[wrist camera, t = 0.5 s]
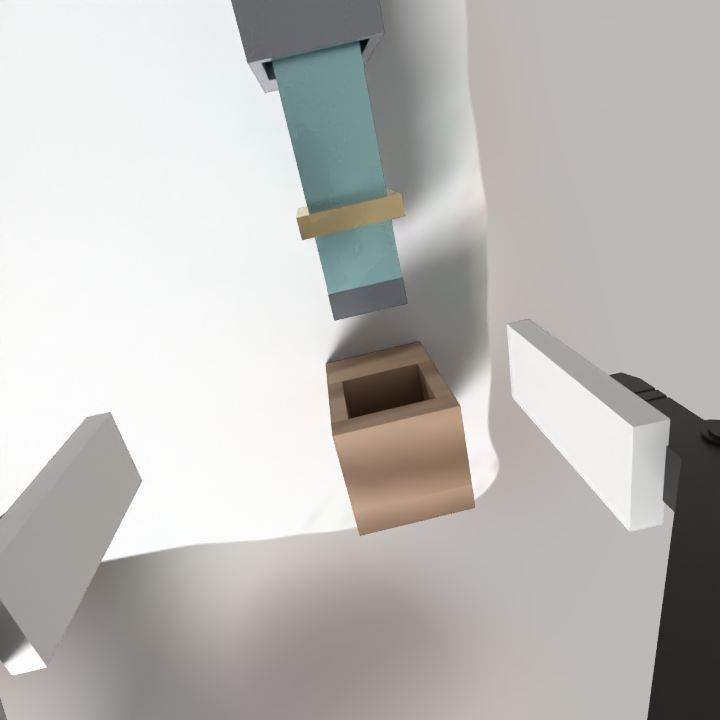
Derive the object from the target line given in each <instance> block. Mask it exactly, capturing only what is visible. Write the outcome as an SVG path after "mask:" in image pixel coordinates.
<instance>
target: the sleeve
mask: <svg viewBox="0 0 720 720" xmlns="http://www.w3.org/2000/svg"><path fill="white" fill-rule="evenodd" d="M231 2H232V5H233V9H234V13H235V17H236V21H237V24H238V28H239V32H240V36H241V40H242V44H243V47H244V51H245V55H246V59H247V63H248V65H249V66H250V68H251V70H252V71H253V73H254V75H255V77H256V78H257V80H258V82H259V83H260V85H261V87H262V88H263V90H264V92H265V93H266V92H271V91H275V90H279V89H278V85H277V81H276V76H275V72H274V68H273V64H272V60H276V59H281V58H285V57H289V56H294V55H298V54H303V53H307V52H311V51H316V50H320V49H324V48H329V47H333V46H338V45H342V44H346V43H351V42H355V41H359V44H360V49H361V55H362V60H363V66H365V64H366V62H367V61H368V59H369V57H370V55H371V54H372V52H373V50H374V49H375V47H376V45H377V44H378V42H379V40H380V39H381V37H382V35H383V34H384V27H383V21H382V14H381V8H380V2H379V0H231Z"/></svg>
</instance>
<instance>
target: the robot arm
mask: <svg viewBox="0 0 720 720" xmlns="http://www.w3.org/2000/svg"><path fill="white" fill-rule="evenodd" d="M507 335H508V348H509V359H510V373H511V386H512V397H513V399H514V400H515V401H516V402H517V403H518V404H519V405H520V407H521V408H522V409H523V410H524V411H525V412H526V413H527V415H528V416H529V417H530V418H531V419H532V420H533V421H534V423H535V424H536V425H537V426H538V427H539V428H540V429H541V431H542V432H543V433H544V434H545V435H546V436H547V438H548V439H549V440H550V441H551V442H552V443H553V444H554V446H555V447H556V448H557V449H558V450H559V451H560V452H561V454H562V455H563V456H564V457H565V458H566V459H567V460H568V462H569V463H570V464H571V465H572V466H573V467H574V469H575V470H576V471H577V472H578V473H579V474H580V475H581V477H582V478H583V479H584V480H585V481H586V482H587V483H588V485H589V486H590V487H591V488H592V489H593V490H594V492H595V493H596V494H597V495H598V496H599V497H600V498H601V500H602V501H603V502H604V503H605V504H606V505H607V506H608V508H609V509H610V510H611V511H612V512H613V513H614V514H615V516H616V517H617V518H618V519H619V520H620V521H621V522H622V523H623V525H624V526H625V527H626V528H627V529H628V530H629V532H630V531H635V530H640V529H644V528H648V527H652V526H657V525H661V524H663V514H664V502H665V503H666V504H667V505H668V506H669V507H670V508H671V509H672V510H673V511H674V512H675V514H674V521H673V528H672V536H671V543H670V551H669V559H668V567H667V574H666V582H665V589H664V597H663V604H662V612H661V620H660V627H659V635H658V642H657V650H656V658H655V665H654V673H653V680H652V688H651V695H650V703H649V711H648V718H647V720H720V420H703V419H701V418H700V417H698V416H697V415H695V414H694V413H692V412H691V411H689V410H688V409H686V408H685V407H683V406H682V405H680V404H678V403H677V402H675V401H674V400H672V399H671V398H667V397H666V395H665V394H663V393H662V392H660V391H659V390H655V388H654V387H652V386H651V385H649V384H648V383H646V382H645V381H643V380H642V379H640V378H637V377H633V376H630V375H627V374H624V373H617V374H612V375H608V374H606V373H605V372H603V371H602V370H600V369H599V368H598V367H596V366H595V365H594V364H592V363H591V362H589V361H588V360H586V359H585V358H583V357H582V356H581V355H580V354H578V353H577V352H575V351H574V350H572V349H571V348H570V347H568V346H567V345H565V344H564V343H563V342H561V341H560V340H558V339H557V338H556V337H554V336H553V335H551V334H550V333H549V332H547V331H546V330H544V329H543V328H541V327H540V326H539V325H537V324H536V323H534V322H533V321H532V320H530V319H526V320H522V321H518V322H513V323H509V324H507ZM141 482H142V480H141V477H140V475H139V473H138V471H137V469H136V467H135V464H134V462H133V460H132V458H131V456H130V454H129V451H128V449H127V447H126V445H125V443H124V441H123V438H122V436H121V434H120V432H119V430H118V428H117V425H116V423H115V421H114V419H113V417H112V415H111V412H108V413H104V414H100V415H95V416H91V417H87V418H86V419H85V420H84V421H83V422H82V424H81V425H80V426H79V427H78V428H77V429H76V431H75V432H74V433H73V434H72V435H71V436H70V438H69V439H68V440H67V441H66V442H65V444H64V445H63V446H62V447H61V448H60V449H59V451H58V452H57V453H56V454H55V455H54V456H53V458H52V459H51V460H50V461H49V462H48V464H47V465H46V466H45V467H44V468H43V469H42V471H41V472H40V473H39V474H38V475H37V476H36V478H35V479H34V480H33V481H32V482H31V484H30V485H29V486H28V487H27V488H26V489H25V491H24V492H23V493H22V494H21V495H20V496H19V498H18V499H17V500H16V501H15V502H14V504H13V505H12V506H11V507H10V508H9V509H8V511H7V512H6V513H5V514H3V515H2V516H1V517H0V660H1V661H2V662H3V664H4V665H5V666H6V668H7V669H8V670H9V672H10V673H11V675H16V674H20V673H25V672H29V671H33V670H38V669H42V668H46V667H47V666H48V664H49V662H50V660H51V658H52V657H53V655H54V653H55V651H56V649H57V647H58V645H59V643H60V641H61V639H62V637H63V635H64V633H65V631H66V629H67V627H68V625H69V623H70V621H71V619H72V617H73V615H74V613H75V611H76V609H77V608H78V606H79V604H80V602H81V600H82V598H83V596H84V594H85V592H86V590H87V588H88V586H89V584H90V582H91V580H92V578H93V576H94V574H95V572H96V570H97V568H98V566H99V564H100V562H101V560H102V558H103V556H104V555H105V553H106V551H107V549H108V547H109V545H110V543H111V541H112V539H113V537H114V535H115V533H116V531H117V529H118V527H119V525H120V523H121V521H122V519H123V517H124V515H125V513H126V511H127V509H128V507H129V505H130V504H131V502H132V500H133V498H134V496H135V494H136V492H137V490H138V488H139V486H140V484H141ZM0 720H7V719H6V715H5V712H4V709H3V706H2V703H1V700H0Z"/></svg>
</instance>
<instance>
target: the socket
mask: <svg viewBox="0 0 720 720" xmlns="http://www.w3.org/2000/svg"><path fill="white" fill-rule="evenodd" d="M326 373H327V384H328V394H329V405H330V415H331V426H332V436H333V440H334V444H335V447H336V451H337V454H338V458H339V462H340V465H341V469H342V473H343V476H344V480H345V483H346V487H347V491H348V494H349V498H350V502H351V505H352V509H353V513H354V516H355V520H356V523H357V527H358V531H359V534H360V536H361V535H365V534H369V533H373V532H378V531H382V530H386V529H390V528H394V527H398V526H402V525H406V524H411V523H415V522H419V521H423V520H427V519H431V518H435V517H439V516H443V515H447V514H452V513H455V512H459V511H464V510H468V509H472V508H475V503H474V495H473V489H472V482H471V475H470V468H469V462H468V455H467V448H466V441H465V435H464V428H463V421H462V414H461V408H460V405H459V403H458V401H457V400H456V398H455V397H454V395H453V393H452V392H451V390H450V389H449V387H448V386H447V384H446V382H445V381H444V379H443V378H442V376H441V375H440V373H439V371H438V370H437V368H436V367H435V365H434V363H433V362H432V360H431V359H430V357H429V356H428V354H427V352H426V351H425V349H424V348H423V346H422V345H421V343H420V342H415V343H411V344H407V345H403V346H398V347H394V348H390V349H386V350H382V351H377V352H373V353H369V354H365V355H361V356H356V357H352V358H348V359H344V360H340V361H335V362H331V363H327V364H326Z"/></svg>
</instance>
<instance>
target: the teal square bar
mask: <svg viewBox="0 0 720 720" xmlns="http://www.w3.org/2000/svg"><path fill="white" fill-rule="evenodd" d="M272 64H273V68H274V72H275V76H276V81H277V85H278V89H279V93H280V97H281V101H282V105H283V109H284V113H285V117H286V121H287V125H288V130H289V134H290V138H291V142H292V146H293V150H294V154H295V158H296V162H297V166H298V170H299V174H300V178H301V183H302V187H303V191H304V195H305V199H306V203H307V207H303V208H298V212H297V222H298V226H299V230H300V234H301V237H302V240H305V239H309V238H313V237H315V240H316V244H317V248H318V252H319V256H320V260H321V264H322V268H323V272H324V276H325V280H326V285H327V291H328V296H329V300H330V304H331V308H332V313H333V317H334V321H335V320H339V319H344V318H348V317H352V316H356V315H360V314H365V313H369V312H373V311H377V310H382V309H386V308H390V307H394V306H399V305H403V304H407V298H406V293H405V287H404V282H403V277H402V276H401V270H400V265H399V259H398V254H397V248H396V243H395V237H394V232H393V226H392V221H391V219H395V218H399V217H403V216H405V210H404V205H403V199H402V193H399V192H396V191H393V190H389V189H386V187H385V182H384V176H383V171H382V165H381V160H380V154H379V149H378V143H377V138H376V132H375V127H374V121H373V116H372V110H371V105H370V99H369V93H368V88H367V82H366V77H365V71H364V66H363V60H362V55H361V49H360V44H359V41H355V42H351V43H346V44H342V45H338V46H333V47H329V48H324V49H320V50H316V51H311V52H307V53H303V54H298V55H294V56H289V57H285V58H281V59H276V60H272Z"/></svg>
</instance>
